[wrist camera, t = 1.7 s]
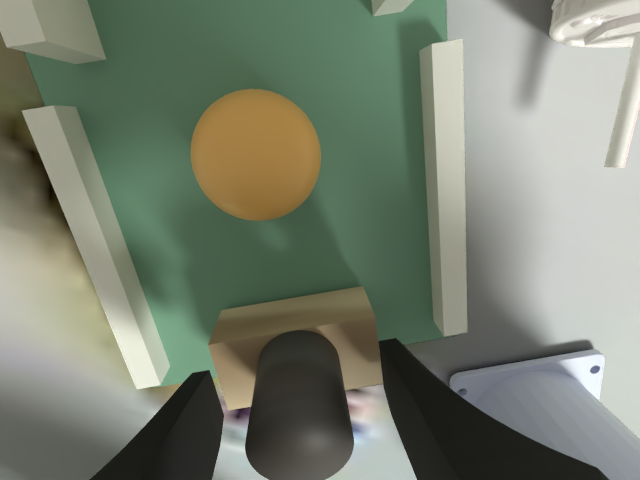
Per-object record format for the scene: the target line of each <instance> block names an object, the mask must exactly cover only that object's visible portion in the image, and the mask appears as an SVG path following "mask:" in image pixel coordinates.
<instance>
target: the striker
mask: <svg viewBox="0 0 640 480" xmlns="http://www.w3.org/2000/svg"><path fill="white" fill-rule="evenodd" d="M208 347H209V350H210V354H211V357H212V360H213V363H214V366H215V370H216V373H217V376H218V379H219V382H220V386H221V389H222V392H223V395H224V398H225V402H226V405H227V408H228V410H233V409H239V408H245V407H251V411H250V417H249V424H248V430H247V437H246V444H245V451H246V455H247V458H248V460H249V462H250V464H251V465H252V467H253V468H254V469H255V470H256V471H257V472H258V473H259V474H261V475H262V476H264V477H265V478H267V479H269V480H325V479H327V478H329V477H331V476H332V475H334V474H335V473H337V472H338V471H339V470H340V469H341V468H343V466H344V465H345V464H346V463H347V461H348V460H349V458H350V456H351V454H352V451H353V446H354V437H353V432H352V426H351V421H350V415H349V410H348V404H347V399H346V393H345V390H349V389H355V388H361V387H367V386H373V385H378V384H383V379H382V370H381V362H380V353H379V344H378V336H377V327H376V319H375V315H374V312H373V310H372V307H371V305H370V302H369V300H368V297H367V295H366V292H365V290H364V287H363V286H360V287H354V288H348V289H342V290H337V291H331V292H325V293H319V294H313V295H307V296H301V297H295V298H289V299H284V300H278V301H272V302H266V303H260V304H254V305H248V306H242V307H236V308H230V309H225V310H221V312H220V315H219V317H218V320H217V323H216V325H215V328H214V330H213V333H212V336H211V338H210V341H209V343H208Z"/></svg>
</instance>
